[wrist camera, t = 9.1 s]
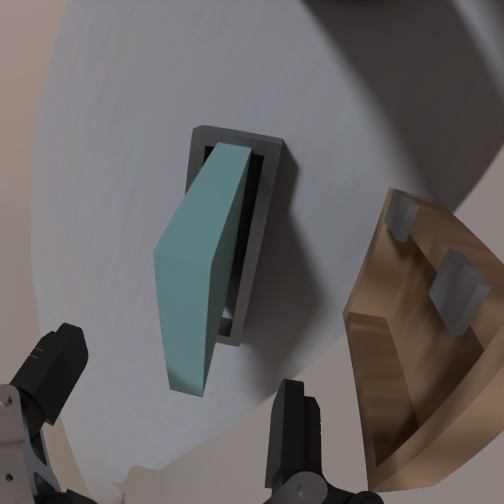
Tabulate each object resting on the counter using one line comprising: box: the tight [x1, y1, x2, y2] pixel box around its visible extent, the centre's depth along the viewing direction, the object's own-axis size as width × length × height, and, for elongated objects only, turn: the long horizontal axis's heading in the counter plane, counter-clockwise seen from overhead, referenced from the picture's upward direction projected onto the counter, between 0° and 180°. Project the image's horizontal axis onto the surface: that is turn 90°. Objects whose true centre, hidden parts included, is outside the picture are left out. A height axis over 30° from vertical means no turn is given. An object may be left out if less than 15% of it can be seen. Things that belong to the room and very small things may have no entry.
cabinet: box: [343, 188, 504, 493], centre depth 15 cm, size 10×5×14 cm, turn 170°
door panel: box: [153, 142, 252, 397], centre depth 16 cm, size 10×2×9 cm, turn 170°
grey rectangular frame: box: [185, 125, 283, 347], centre depth 20 cm, size 15×5×2 cm, turn 170°
